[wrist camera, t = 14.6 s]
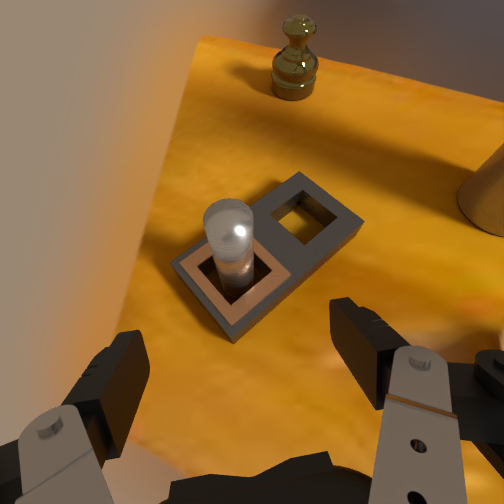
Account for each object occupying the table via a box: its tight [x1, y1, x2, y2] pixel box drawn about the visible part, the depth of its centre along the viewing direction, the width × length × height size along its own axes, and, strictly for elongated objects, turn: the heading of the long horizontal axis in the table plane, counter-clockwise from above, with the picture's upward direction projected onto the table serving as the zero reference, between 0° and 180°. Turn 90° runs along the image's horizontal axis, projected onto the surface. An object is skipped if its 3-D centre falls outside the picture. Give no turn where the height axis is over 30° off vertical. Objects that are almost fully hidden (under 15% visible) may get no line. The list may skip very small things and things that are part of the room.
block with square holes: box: [170, 171, 365, 344], centre depth 30 cm, size 19×10×3 cm, turn 131°
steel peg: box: [203, 199, 254, 297], centre depth 25 cm, size 4×4×12 cm
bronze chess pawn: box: [271, 14, 319, 100], centre depth 42 cm, size 7×7×10 cm
